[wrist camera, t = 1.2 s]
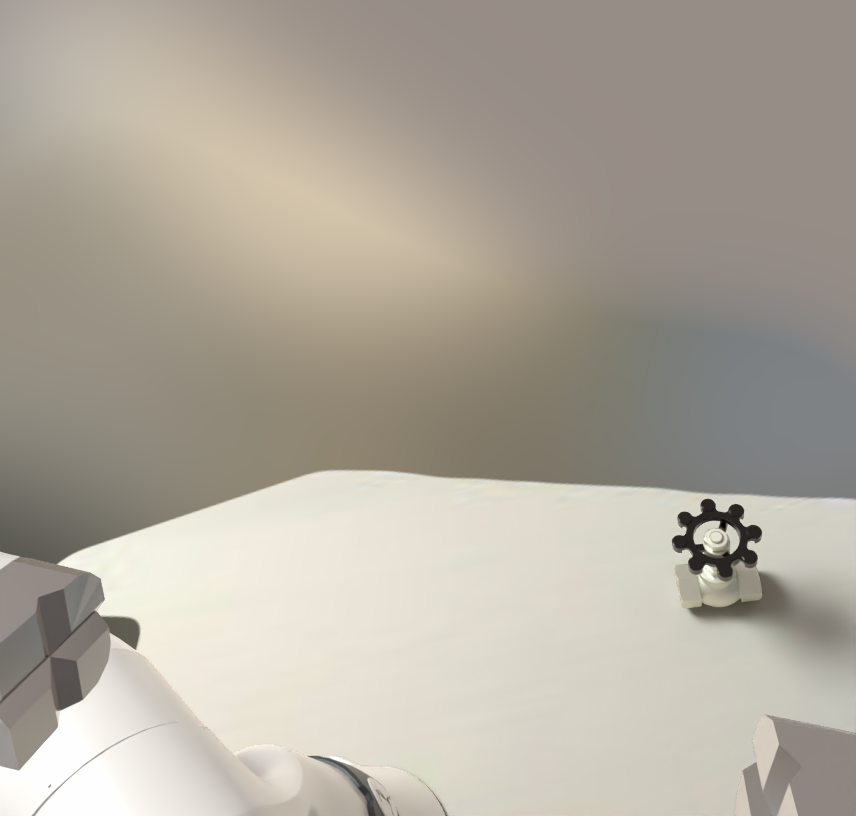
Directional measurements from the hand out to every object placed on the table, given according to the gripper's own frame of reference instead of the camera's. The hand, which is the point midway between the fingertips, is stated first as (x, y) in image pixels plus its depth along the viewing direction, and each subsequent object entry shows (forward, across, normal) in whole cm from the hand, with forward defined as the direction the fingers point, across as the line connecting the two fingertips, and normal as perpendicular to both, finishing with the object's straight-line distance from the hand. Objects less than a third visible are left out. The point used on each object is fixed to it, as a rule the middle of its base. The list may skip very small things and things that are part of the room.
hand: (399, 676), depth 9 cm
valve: (+52, +17, -33) cm, 64 cm away
